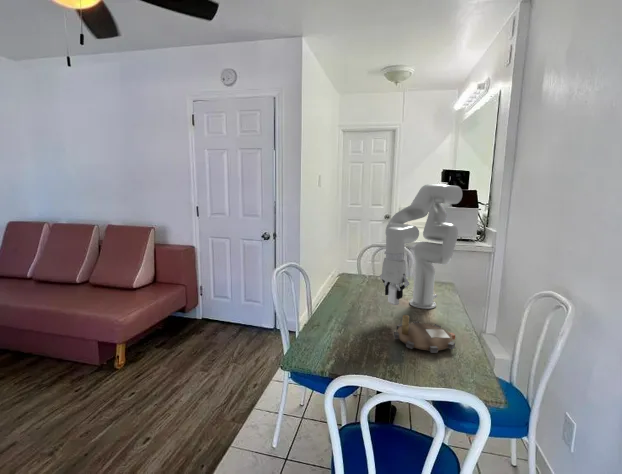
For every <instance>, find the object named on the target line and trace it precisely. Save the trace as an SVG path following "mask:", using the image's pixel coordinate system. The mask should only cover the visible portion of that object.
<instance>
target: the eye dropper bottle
mask: <svg viewBox="0 0 622 474" xmlns="http://www.w3.org/2000/svg"><path fill="white" fill-rule="evenodd" d="M397 290H398V288H397V284H393V283H390V284H389V286H388V295H387V301H388V303H389V304H391V305H393V306H397V305H399V304H400V299H397Z"/></svg>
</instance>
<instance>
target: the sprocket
mask: <svg viewBox="0 0 622 474" xmlns="http://www.w3.org/2000/svg"><path fill="white" fill-rule="evenodd" d="M401 320H402V321H401V323H399V324H397V325H396V331H394V332H393V337H394V339H395V340H399V341H401V342H402V343H403V344H405V347H406V348H408V349H411V350H412V349H417V350H422V351H428V352H430V353H432V354H433V353H436V354H437V353H438V352H439V351H443V350H447V349H450V350H453V349H455V348H456V342H453V340H454V341H455V340H456V334H455V333H454V332H449V331H448V330H447V329H444V328H443V327H442V326H441V325H439V324H437V323H436V324H431V323H430V324H429V323H423V322H420V321H412V322H410V315H408V314H403V315H402V319H401Z"/></svg>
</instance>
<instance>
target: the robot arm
mask: <svg viewBox="0 0 622 474" xmlns="http://www.w3.org/2000/svg"><path fill="white" fill-rule="evenodd" d="M462 198H463V189H462V188H461V186H459V185H452V184H451V185H449V184H435V183H433V184H432V183H431V184H430V183H429V184H423V186H421V187H420V189H419V191H418V192H417V194H416V195H415V197H414V198H413V200H412V202H411V203H410V204H409V205H408V206H405V207H404V208H403V209H400V210H399V211H397V212H396V213H395V214H393V216H392V217H391V218H390V220H389V221H388V224H387V225H386V228H385V237H386V238H385V240H386V241H385V251H384V255H385V257H384V258H383V262H382V269H381V274H380V275H379V277H380V279H381V281H382V283H383V285H384V289H385V290H384V291H385V292H384V295H385V296H388V286H389V284H391V283H393V284H397V288H398V290H397V299H399V300H400V299H403V295H404V294H403V292H404V290H405V289H406V288H407V287H408V286H410V282H409V281H408V278H407V266H406V260H405V244H406V243H408V244H409V243H414V242H415V241H417V240H418V238H419V237H420V229H419V228H418V227H417V226H415V225H412V224H405V223H409V222H411V221H416V220H420V219H422V218H425V217H427V218H426V221H425V224H424V227H423V231H422V236H423V238H424V239H425V240H426V241H418V242H416V244H415V245H414V248H413V257H414V277H413V290H412V291H413V292H412V293H413V294H412V298H411V299H410V300H409V302H408V303H409V304H410V305H411V307H414V308H417V309H423V310H431V309H434V308H436V307H437V303H436V302H435V301H434V299H437V298H438V294H436V293H435V294H434V292H435V291H434V290H435V279H436V278H435V277H436V270H435V269H436V268H435V266H434V264H437V265H442V266H443V265H444V266H445V265H448V264H449V263H450V262H451V260H452V257H453V253H454V251H455V247H456V244H457V242H458V241H457V240H458V236H459V229H458V226H457V225H456V224H453V223H450V222H446V220H447V216H448V213H447V211H446V208H445V207H444V206H443V204H446V205H447V204H448V205H457V204H459V203H460V202H461V201H462ZM429 241H430V242H429ZM436 242H438V243H436Z"/></svg>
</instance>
